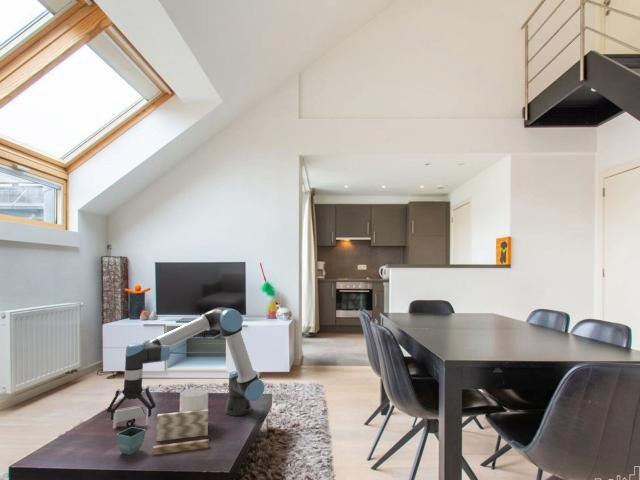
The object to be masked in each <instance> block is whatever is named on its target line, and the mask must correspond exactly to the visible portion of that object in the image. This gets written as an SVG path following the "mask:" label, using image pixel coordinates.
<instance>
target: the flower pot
mask: <svg viewBox="0 0 640 480" xmlns="http://www.w3.org/2000/svg"><path fill="white" fill-rule="evenodd" d="M145 435H146V428H145V429H144V428H138V427H134V426H131V427H127V428H126V429H124V430H122V431H120V432H118V433H116V443H117V447H118V449H119V451H120V452H121V454H125V455H130V456H131V455H133V454H134V453H136V452H138V451H139V450H140V448H141V447H142V445H143V443H144V440H145Z"/></svg>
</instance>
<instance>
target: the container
mask: <svg viewBox="0 0 640 480" xmlns="http://www.w3.org/2000/svg"><path fill="white" fill-rule="evenodd" d="M204 409H208V410H209V389H207V388H204V387H191V388H187V389H183V390H182V391H180V392H179V412H185V411H195V410H204Z"/></svg>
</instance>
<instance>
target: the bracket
mask: <svg viewBox="0 0 640 480" xmlns="http://www.w3.org/2000/svg"><path fill="white" fill-rule="evenodd" d="M116 411H117V418H116V424H117V423H121V422H125V421H127V422H126V424H125V425H126V427H127V428H130V427H133V425H134V424H135V422H136V419H137V418H141V417H146V416H145V415H146V411H145V408H144V405H135V406H130V407H125V408H117V409H116Z"/></svg>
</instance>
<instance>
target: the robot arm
mask: <svg viewBox="0 0 640 480" xmlns="http://www.w3.org/2000/svg"><path fill="white" fill-rule="evenodd" d="M243 319H244V318H243V316H242V314H241V313H240V312H239V310H237V309H234V308H228V307H224V306H221V307H216V308H213V309H211V310H209V311H207V312H205V313H203V314H201V315H200V317H198V318H195V319H194V320H192V321H190V322H188V323H187V322H186V323H185V324H183V325H181V326H180V327H177V328H175V329H173V330H170V331H168V332H166V333H164V334H162V335H159V336H157V337H156V338H154V339H151V340H145V341H142V342H141V343H139V342H138V343H137V342H136V343H135V342H134V343H129V344H128V345H127V346H126V348H125V365H124V377H123V378H124V381H123V383H124V384H123V389H119V388H117V390H115V394H114V395H115V396H114V397H113V398H112V400H111V402H110V404H109V405H108V407H107V409H106V412H107V413H110V420H111V421H112V422H113V423H112V429H115V428H116V427H117V423H116V418H117V411H116V410H117V409H119V407H120V406H122V404H123V403H124V402H125V401H126V400H129V401H130V400H136V399H138V400H139V401H140V402H141V403H142V404H143V406H145V407H146V411H145V413H146V414H145V415H146V416H145V426H148V424H149V418H150V417H151V416H152V410H153V409H155V408H156V406H157V404H156V402H155V400H154V398H153V396H152V394H151V392H150V387H149V386H147V387H143V370H144V368H143V367H144V365H146V364H153V363H159V362H166V361H169V359H170V358H171V349H170V348H171V347H173V346H175V345H177V344H180V343H182V342H184V341H186V340H188V339H190V338H192V337H194V336H196V335H198V334H200V333H203V332H204V331H211V330H212V329H219V332H220V334H221V337H222V338H225V340H226V343H227V347H228V350H229V352H230V355H231V358H232V361H233V364H234V368H235V370H233V371H231V372H229V375H228V398H227V402H226V405H225V410H224V411H225V414H227V415H228V416H233V417H234V416H238V417H239V416H244V415H248V414H250V413H251V412H252V403H251V402H256V401H257V400H259V399H260V398H261V397H262V396H263V393H265V383H264V382H263V381H262V380H261V379H260V377H259V375H258V372H257V370H254V368H253V365H252V362H251V359H250V357H249V354H248V351H247V346H246V344H245V342H244V338H243V335H242V331H243V326H242V325H243ZM142 393H145V395H146V396H147V399H148V400H147V399H146V398H145V397H144V396H143V394H142ZM121 394H122V395H123V396H122V398H121V399H120V400H119V401H118V403H116V401H117V400H118V397H119V396H121ZM115 403H116V405H115V406H114V404H115ZM113 406H114V407H113Z"/></svg>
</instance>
